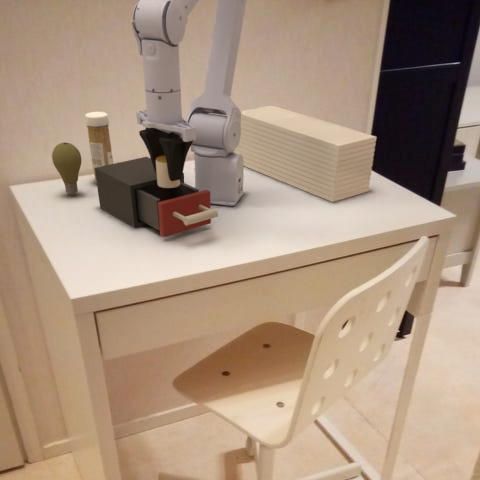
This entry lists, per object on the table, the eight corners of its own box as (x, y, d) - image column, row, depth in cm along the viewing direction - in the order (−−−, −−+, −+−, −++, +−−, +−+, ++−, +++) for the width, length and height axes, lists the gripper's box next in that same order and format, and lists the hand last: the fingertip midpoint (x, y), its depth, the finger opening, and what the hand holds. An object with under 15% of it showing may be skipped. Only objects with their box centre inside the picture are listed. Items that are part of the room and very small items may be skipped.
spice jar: (120, 182, 130) (112, 113, 122) (102, 187, 128) (93, 117, 119) (107, 177, 133) (99, 109, 124) (90, 182, 130) (80, 113, 122)
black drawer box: (185, 213, 117) (184, 172, 112) (134, 228, 111) (130, 185, 106) (150, 195, 124) (146, 156, 120) (100, 208, 119) (94, 167, 114)
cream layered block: (235, 162, 142) (235, 111, 135) (270, 154, 147) (272, 105, 140) (332, 202, 122) (338, 145, 116) (368, 191, 128) (376, 136, 121)
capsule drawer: (227, 231, 108) (226, 198, 105) (179, 246, 103) (177, 212, 99) (174, 205, 118) (173, 174, 114) (128, 217, 113) (125, 186, 109)
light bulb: (92, 192, 125) (84, 141, 119) (75, 201, 121) (67, 148, 115) (70, 188, 127) (61, 137, 121) (53, 197, 123) (43, 144, 117)
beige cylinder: (183, 181, 108) (182, 156, 105) (175, 189, 105) (174, 162, 102) (162, 179, 109) (160, 153, 106) (154, 186, 106) (151, 160, 103)
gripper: (117, 84, 100) (126, 170, 109) (167, 100, 91) (173, 192, 100) (153, 79, 103) (159, 162, 112) (205, 94, 95) (207, 183, 104)
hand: (168, 176), depth 106 cm, fingers closed on beige cylinder, 4 cm apart
